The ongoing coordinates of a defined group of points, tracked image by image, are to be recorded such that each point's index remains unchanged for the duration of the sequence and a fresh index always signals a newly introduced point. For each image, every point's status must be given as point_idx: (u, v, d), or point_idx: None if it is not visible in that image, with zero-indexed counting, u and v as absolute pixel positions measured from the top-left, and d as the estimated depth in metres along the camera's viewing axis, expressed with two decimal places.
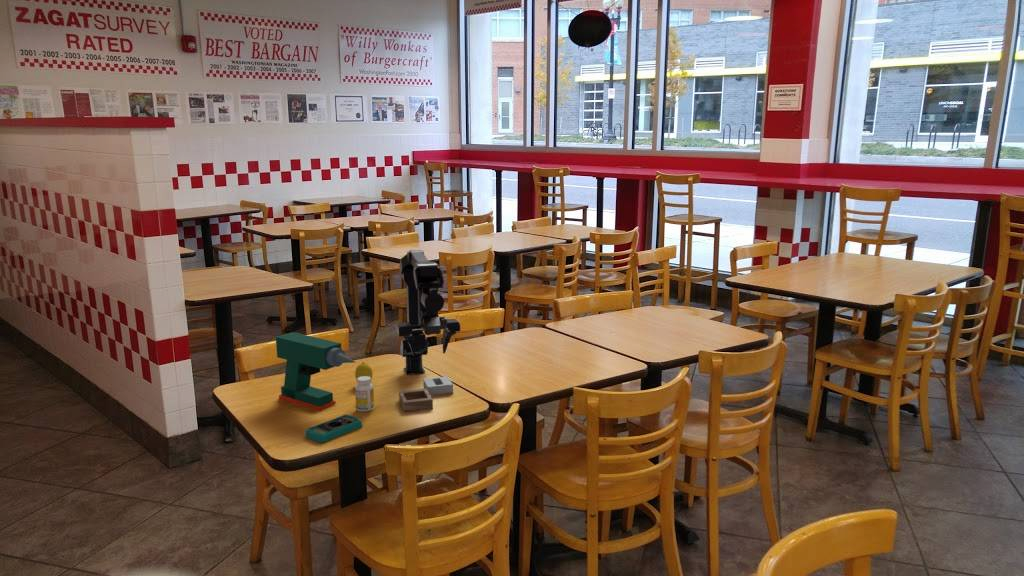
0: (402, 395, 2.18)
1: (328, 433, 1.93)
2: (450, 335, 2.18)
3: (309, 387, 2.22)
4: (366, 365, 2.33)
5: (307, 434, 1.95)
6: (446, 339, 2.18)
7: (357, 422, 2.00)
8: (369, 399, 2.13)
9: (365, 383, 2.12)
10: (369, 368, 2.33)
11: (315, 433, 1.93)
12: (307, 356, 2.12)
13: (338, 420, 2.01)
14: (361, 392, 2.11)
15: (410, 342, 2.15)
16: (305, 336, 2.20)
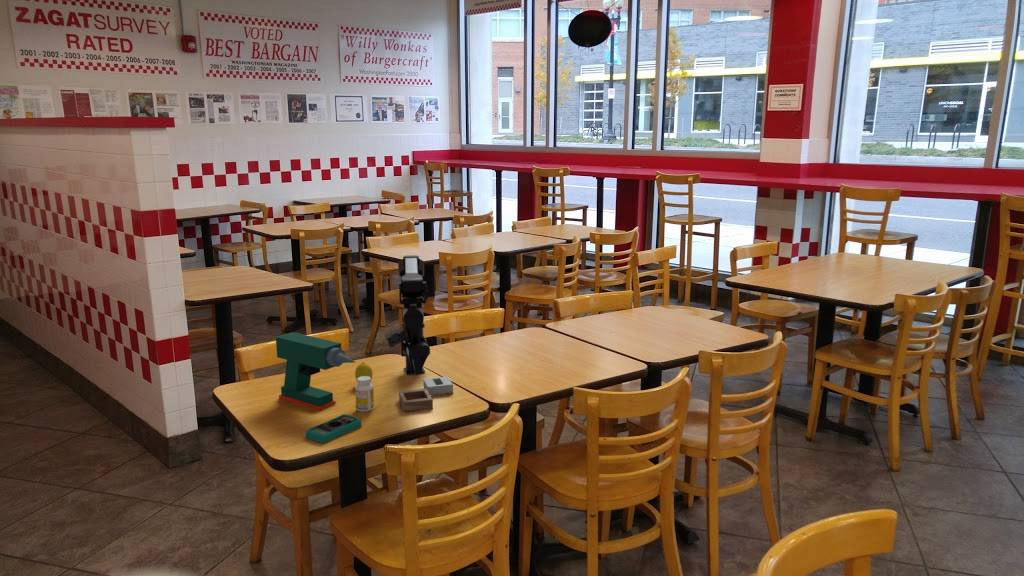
0: (402, 395, 2.18)
1: (329, 433, 1.93)
2: (410, 357, 2.08)
3: (309, 387, 2.22)
4: (366, 365, 2.33)
5: (307, 435, 1.94)
6: (412, 360, 2.10)
7: (356, 422, 2.01)
8: (369, 399, 2.13)
9: (365, 383, 2.12)
10: (369, 368, 2.33)
11: (316, 433, 1.92)
12: (307, 356, 2.12)
13: (337, 420, 2.01)
14: (361, 392, 2.11)
15: (406, 350, 2.20)
16: (305, 336, 2.20)
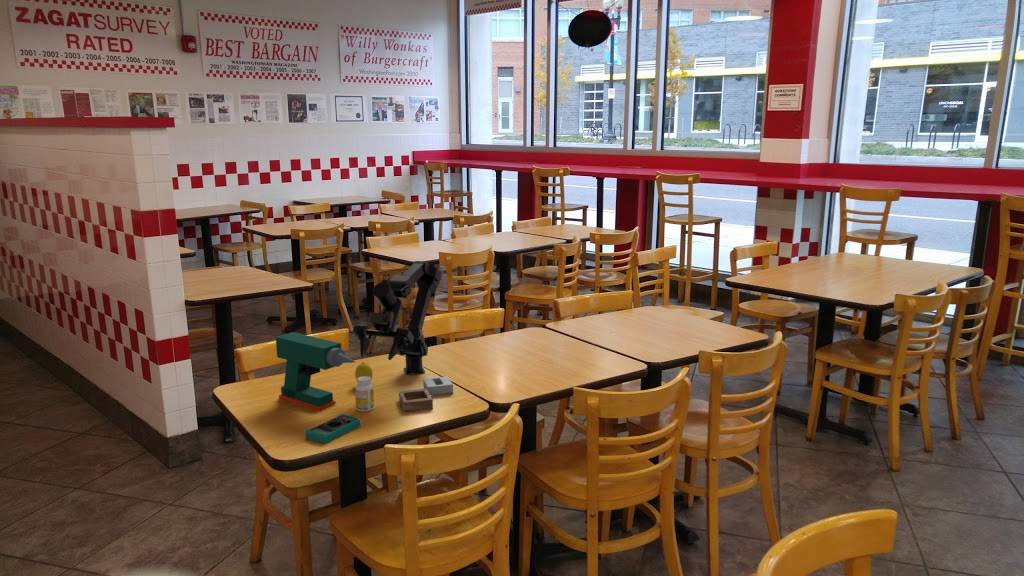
0: (402, 395, 2.18)
1: (330, 433, 1.93)
2: (397, 338, 2.19)
3: (309, 387, 2.22)
4: (366, 365, 2.33)
5: (308, 435, 1.94)
6: (393, 344, 2.19)
7: (356, 421, 2.01)
8: (369, 399, 2.13)
9: (365, 383, 2.12)
10: (369, 368, 2.33)
11: (317, 434, 1.92)
12: (307, 356, 2.12)
13: (336, 420, 2.01)
14: (361, 392, 2.11)
15: (361, 341, 2.22)
16: (305, 336, 2.20)
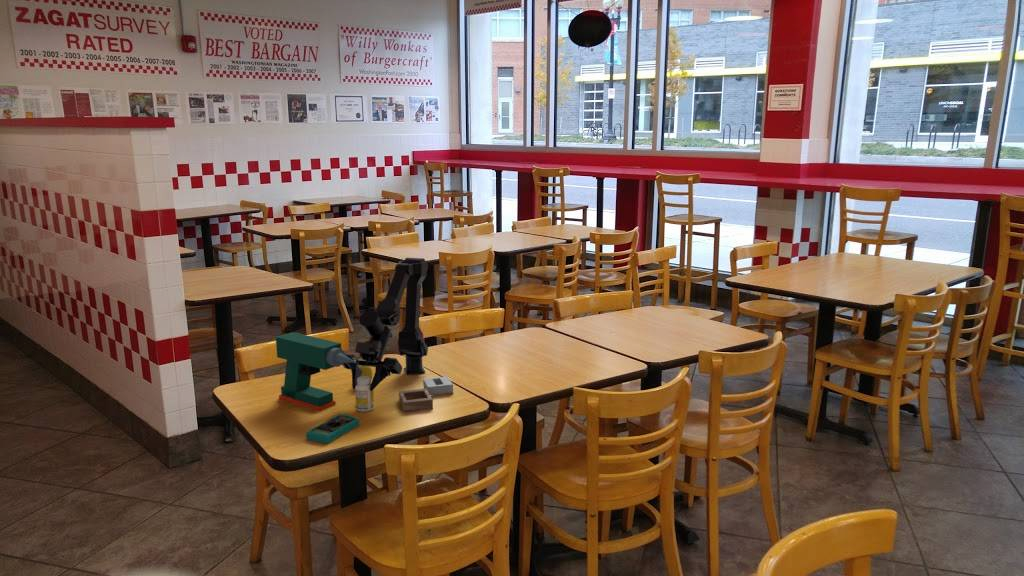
0: (402, 395, 2.18)
1: (332, 433, 1.93)
2: (379, 368, 2.13)
3: (309, 387, 2.22)
4: None
5: (309, 436, 1.93)
6: (375, 374, 2.13)
7: (355, 421, 2.01)
8: (369, 399, 2.13)
9: (365, 383, 2.12)
10: (369, 368, 2.33)
11: (319, 434, 1.92)
12: (307, 356, 2.12)
13: (335, 420, 2.01)
14: (361, 392, 2.11)
15: (352, 371, 2.15)
16: (305, 336, 2.20)
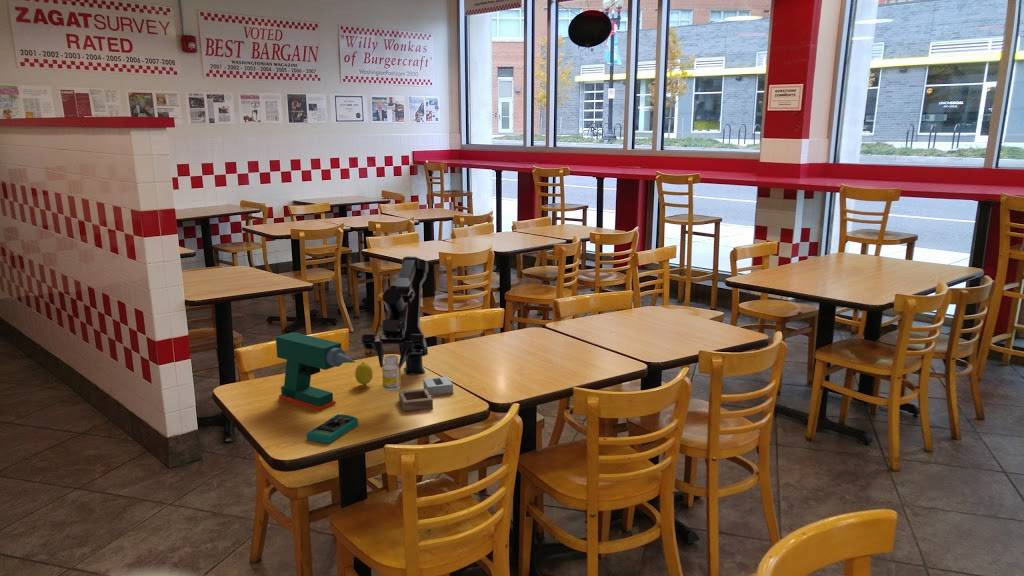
0: (402, 395, 2.18)
1: (333, 433, 1.93)
2: (406, 345, 2.13)
3: (309, 387, 2.22)
4: (366, 365, 2.33)
5: (310, 437, 1.93)
6: (402, 350, 2.13)
7: (354, 420, 2.02)
8: (398, 377, 2.13)
9: (394, 362, 2.12)
10: (369, 368, 2.33)
11: (320, 435, 1.91)
12: (307, 356, 2.12)
13: (334, 420, 2.01)
14: (390, 371, 2.11)
15: (378, 350, 2.14)
16: (305, 336, 2.20)
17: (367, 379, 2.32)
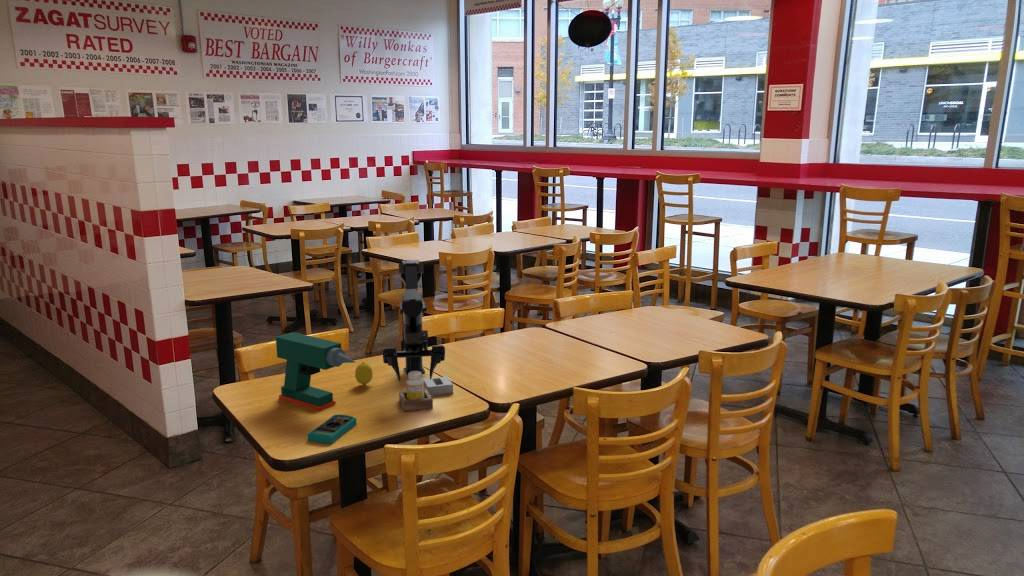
0: (402, 395, 2.18)
1: (335, 433, 1.93)
2: (435, 356, 2.17)
3: (309, 387, 2.22)
4: (366, 365, 2.33)
5: (311, 438, 1.92)
6: (431, 362, 2.17)
7: (353, 420, 2.02)
8: (423, 392, 2.17)
9: (419, 377, 2.15)
10: (369, 368, 2.33)
11: (322, 435, 1.91)
12: (307, 356, 2.12)
13: (332, 421, 2.01)
14: (416, 386, 2.15)
15: (394, 364, 2.16)
16: (305, 336, 2.20)
17: (367, 379, 2.32)
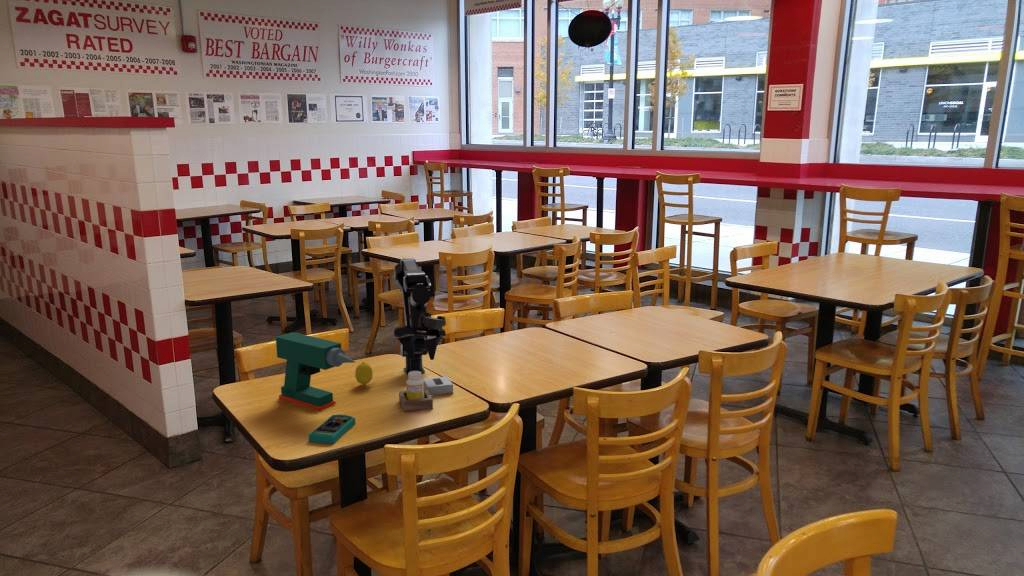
0: (402, 395, 2.18)
1: (336, 433, 1.93)
2: (439, 340, 2.31)
3: (309, 387, 2.22)
4: (366, 365, 2.33)
5: (312, 438, 1.92)
6: (435, 344, 2.31)
7: (352, 419, 2.02)
8: (423, 392, 2.17)
9: (419, 377, 2.15)
10: (369, 368, 2.33)
11: (324, 435, 1.91)
12: (307, 356, 2.12)
13: (331, 421, 2.01)
14: (416, 386, 2.15)
15: (412, 343, 2.22)
16: (305, 336, 2.20)
17: (367, 379, 2.32)
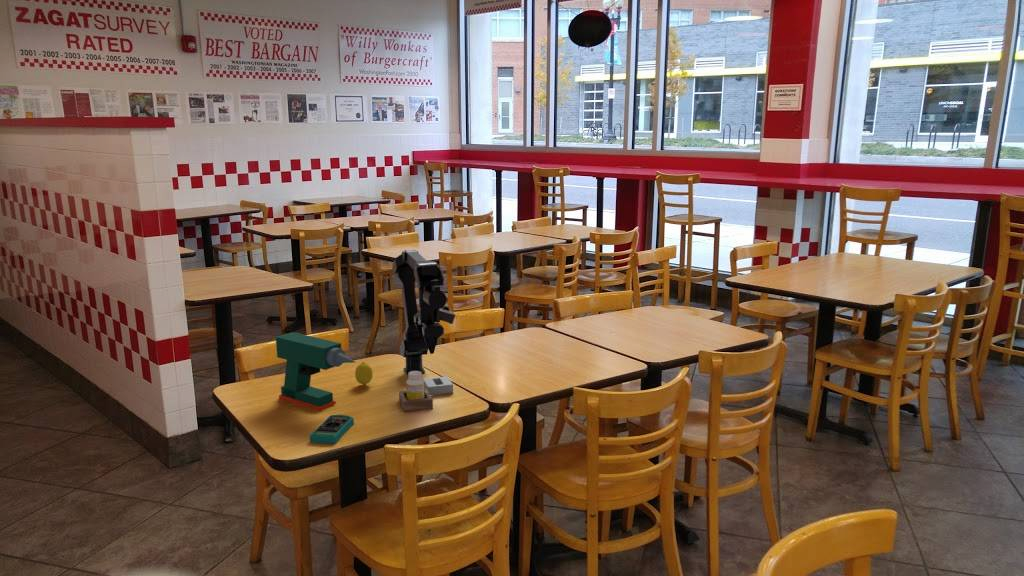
0: (402, 395, 2.18)
1: (337, 433, 1.93)
2: None
3: (309, 387, 2.22)
4: (366, 365, 2.33)
5: (313, 439, 1.91)
6: None
7: (351, 419, 2.02)
8: (423, 392, 2.17)
9: (419, 377, 2.15)
10: (369, 368, 2.33)
11: (325, 435, 1.91)
12: (307, 356, 2.12)
13: (330, 421, 2.01)
14: (416, 386, 2.15)
15: None
16: (305, 336, 2.20)
17: (367, 379, 2.32)
